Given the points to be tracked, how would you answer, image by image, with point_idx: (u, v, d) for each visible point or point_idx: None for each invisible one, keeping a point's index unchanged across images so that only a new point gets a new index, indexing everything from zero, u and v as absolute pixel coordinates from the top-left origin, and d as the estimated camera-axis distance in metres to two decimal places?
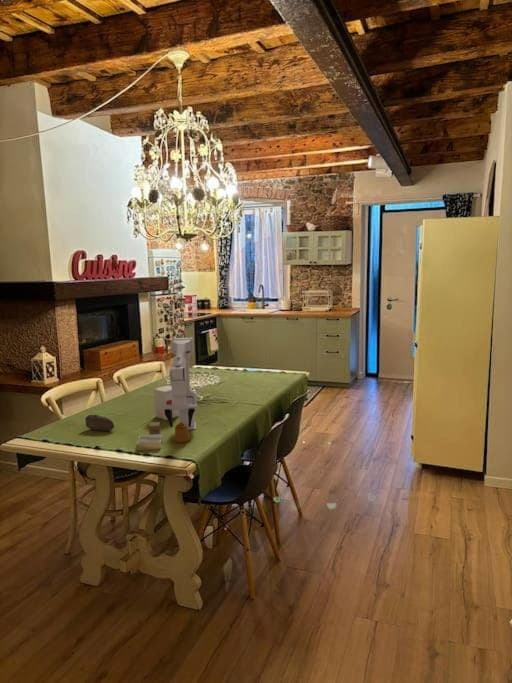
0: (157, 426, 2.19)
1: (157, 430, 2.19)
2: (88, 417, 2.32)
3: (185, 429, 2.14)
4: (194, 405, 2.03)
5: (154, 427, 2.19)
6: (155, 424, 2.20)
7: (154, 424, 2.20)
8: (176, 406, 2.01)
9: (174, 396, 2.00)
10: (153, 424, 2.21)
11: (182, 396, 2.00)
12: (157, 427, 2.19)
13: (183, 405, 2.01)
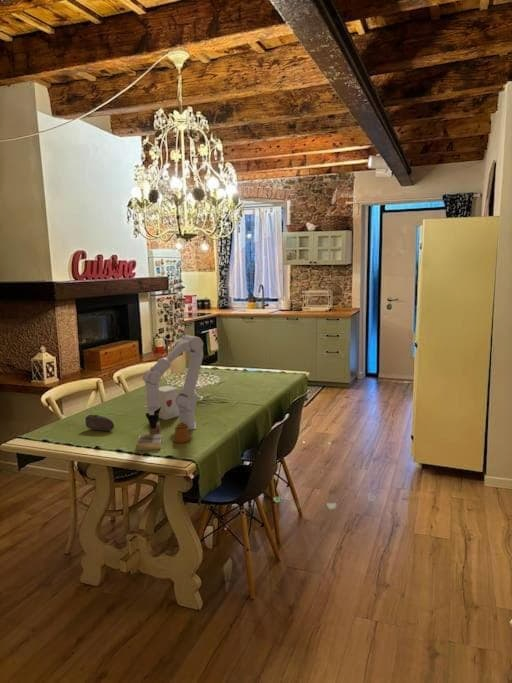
0: (157, 426, 2.19)
1: (157, 430, 2.19)
2: (88, 417, 2.32)
3: (185, 429, 2.14)
4: (151, 410, 2.13)
5: None
6: None
7: None
8: None
9: (146, 396, 2.19)
10: None
11: (147, 397, 2.17)
12: (157, 427, 2.19)
13: (148, 406, 2.17)
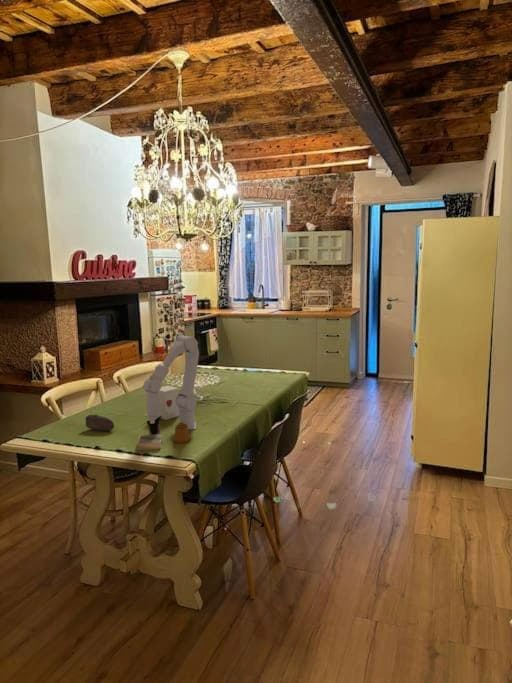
0: None
1: None
2: (88, 417, 2.32)
3: (185, 429, 2.14)
4: (152, 418, 2.14)
5: None
6: None
7: None
8: None
9: None
10: None
11: (147, 406, 2.18)
12: None
13: (148, 414, 2.18)
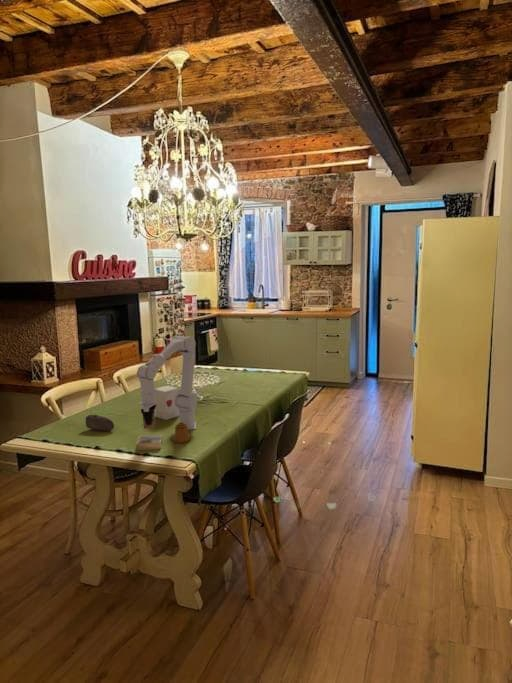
0: None
1: None
2: (88, 417, 2.32)
3: (185, 429, 2.14)
4: (146, 407, 2.04)
5: None
6: None
7: None
8: None
9: (141, 392, 2.09)
10: None
11: (141, 393, 2.08)
12: None
13: (142, 402, 2.08)
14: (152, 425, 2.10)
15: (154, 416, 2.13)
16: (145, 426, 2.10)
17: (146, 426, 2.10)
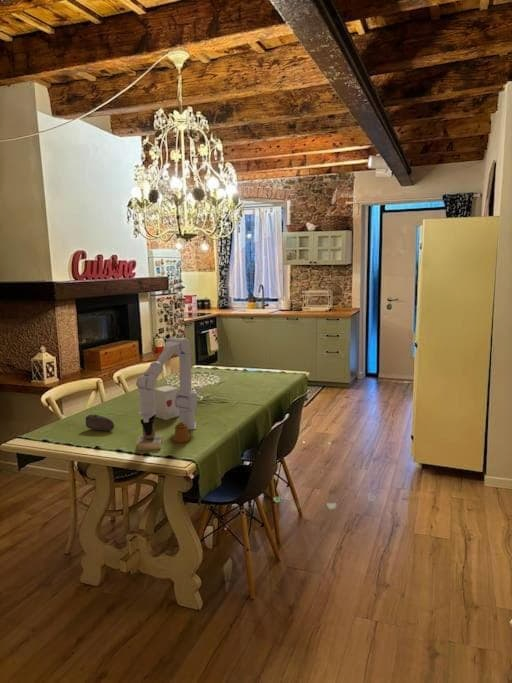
0: None
1: None
2: (88, 417, 2.32)
3: (185, 429, 2.14)
4: (145, 417, 2.03)
5: None
6: None
7: None
8: None
9: None
10: None
11: (141, 404, 2.06)
12: None
13: (142, 412, 2.07)
14: (152, 435, 2.09)
15: (154, 426, 2.12)
16: (145, 436, 2.09)
17: (146, 436, 2.09)
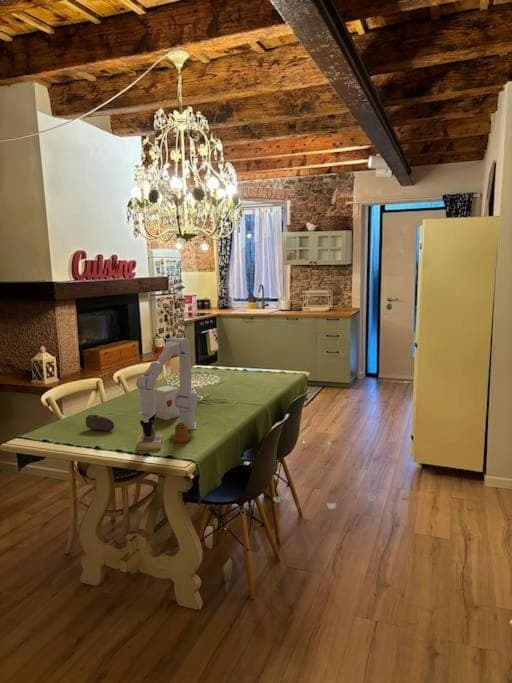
0: None
1: (151, 431, 2.08)
2: (88, 417, 2.32)
3: (185, 429, 2.14)
4: (145, 417, 2.03)
5: None
6: None
7: None
8: None
9: None
10: None
11: (141, 403, 2.06)
12: None
13: (142, 412, 2.07)
14: (152, 437, 2.09)
15: (154, 428, 2.12)
16: (145, 438, 2.09)
17: (146, 438, 2.09)
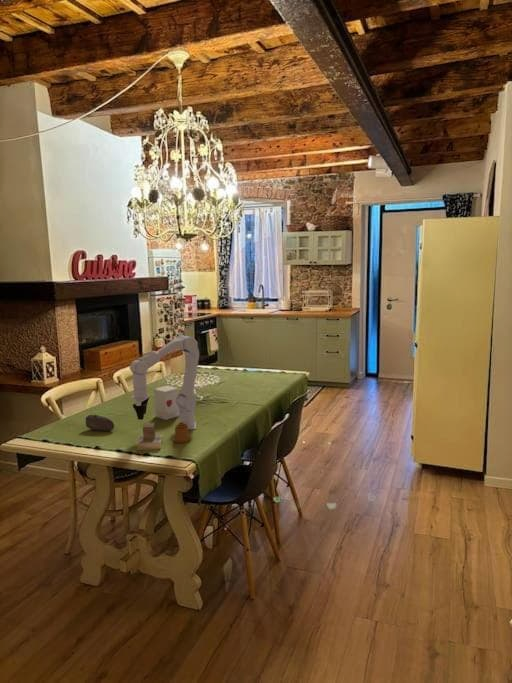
0: (151, 427, 2.08)
1: (151, 431, 2.08)
2: (88, 417, 2.32)
3: (185, 429, 2.14)
4: (138, 401, 2.10)
5: (148, 428, 2.08)
6: (149, 425, 2.09)
7: (148, 425, 2.10)
8: None
9: None
10: (147, 425, 2.10)
11: (134, 388, 2.14)
12: (151, 428, 2.08)
13: (135, 396, 2.14)
14: (152, 437, 2.09)
15: (154, 428, 2.12)
16: (145, 438, 2.09)
17: (146, 438, 2.09)
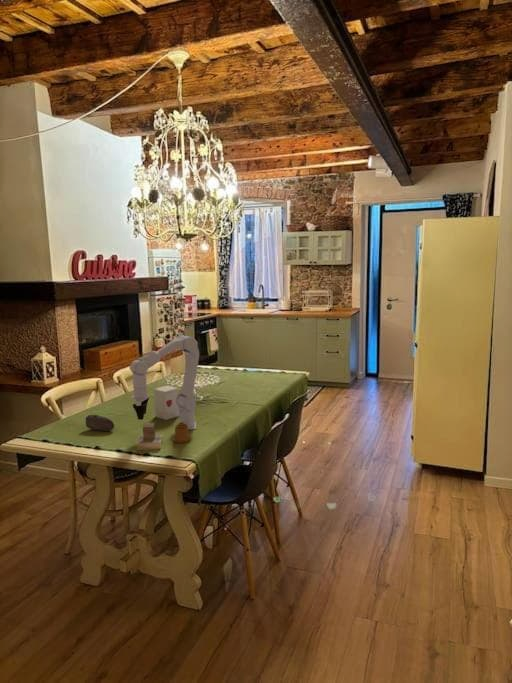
0: (151, 427, 2.08)
1: (151, 431, 2.08)
2: (88, 417, 2.32)
3: (185, 429, 2.14)
4: (138, 401, 2.10)
5: (148, 428, 2.08)
6: (149, 425, 2.09)
7: (148, 425, 2.10)
8: None
9: None
10: (147, 425, 2.10)
11: (134, 388, 2.14)
12: (151, 428, 2.08)
13: (135, 396, 2.14)
14: (152, 437, 2.09)
15: (154, 428, 2.12)
16: (145, 438, 2.09)
17: (146, 438, 2.09)
